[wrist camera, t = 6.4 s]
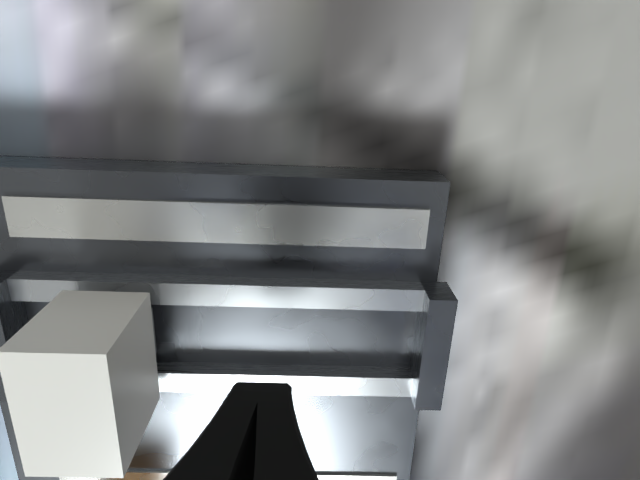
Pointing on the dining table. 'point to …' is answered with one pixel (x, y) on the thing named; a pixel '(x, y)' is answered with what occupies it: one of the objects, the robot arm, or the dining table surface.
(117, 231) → the console
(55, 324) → the block
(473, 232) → the dining table surface
